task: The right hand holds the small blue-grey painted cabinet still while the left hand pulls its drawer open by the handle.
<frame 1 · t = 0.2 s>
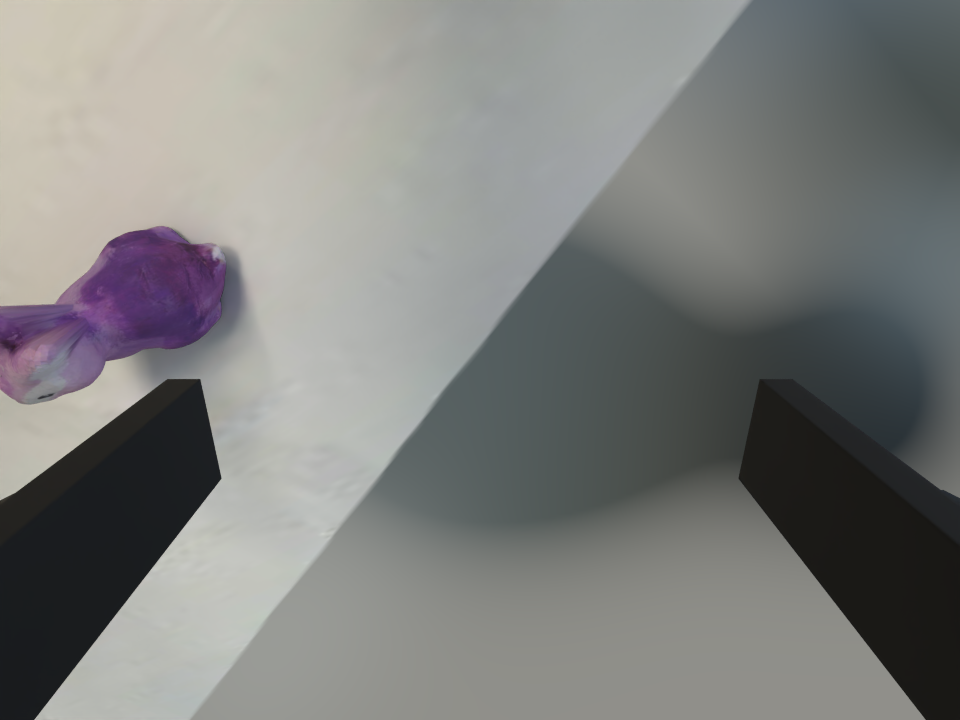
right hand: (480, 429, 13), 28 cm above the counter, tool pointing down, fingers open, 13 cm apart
figurine: (171, 292, 40), on the counter
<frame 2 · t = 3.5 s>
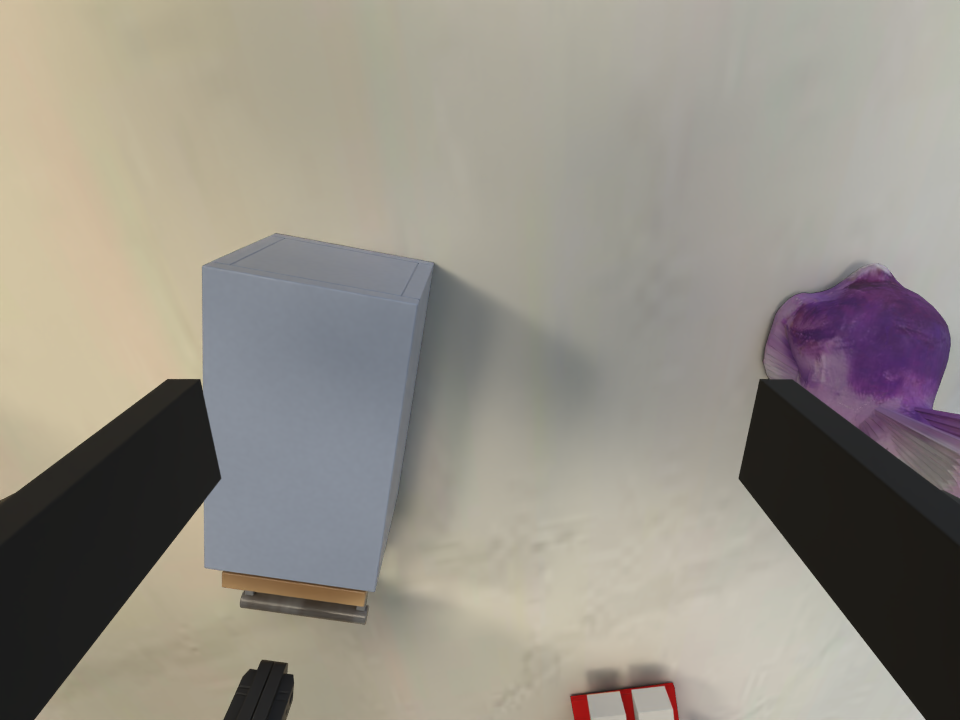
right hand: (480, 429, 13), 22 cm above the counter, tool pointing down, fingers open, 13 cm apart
figurine: (820, 351, 36), on the counter
cabinet: (342, 377, 36), on the counter
drawer: (317, 483, 34), point 5 cm above the counter, slide at 1.1 cm
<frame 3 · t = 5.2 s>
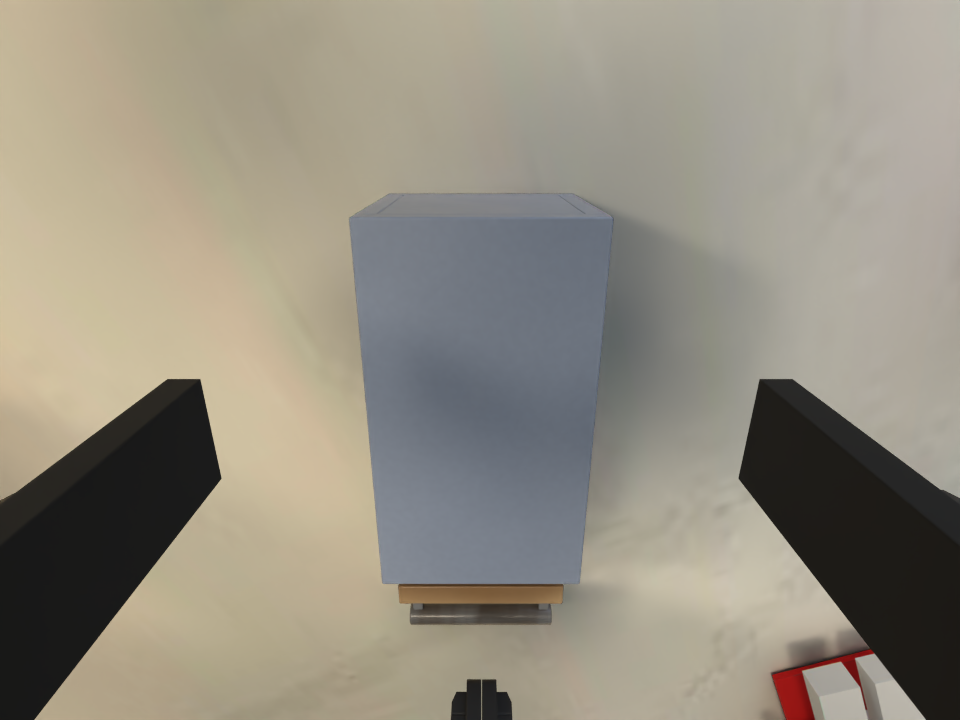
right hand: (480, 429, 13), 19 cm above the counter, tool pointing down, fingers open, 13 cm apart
cabinet: (480, 349, 32), on the counter
drawer: (480, 471, 30), point 5 cm above the counter, slide at 1.1 cm
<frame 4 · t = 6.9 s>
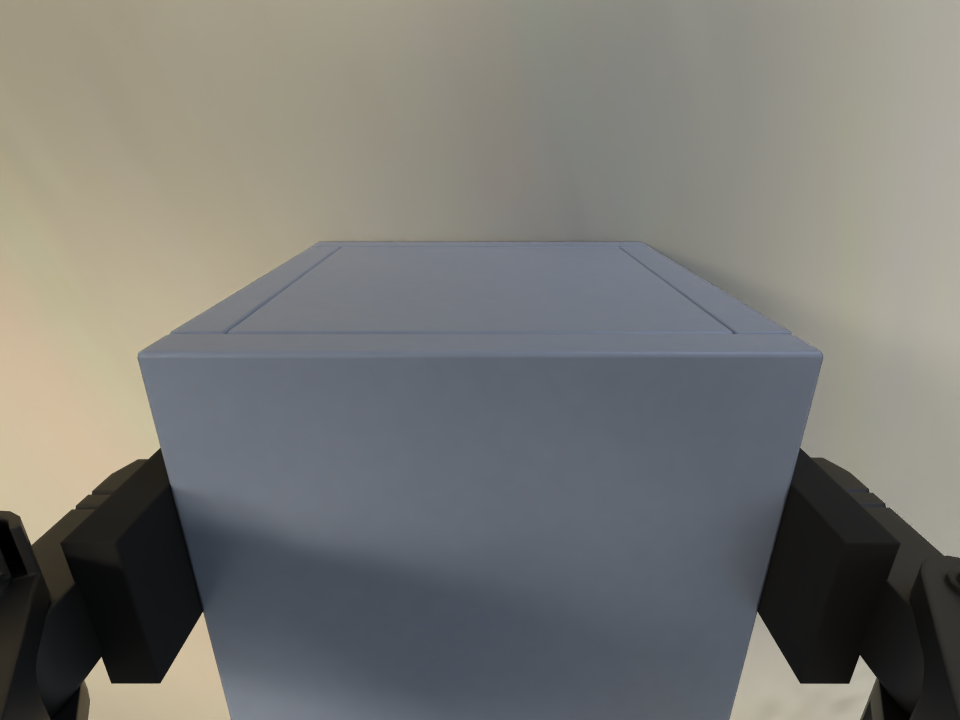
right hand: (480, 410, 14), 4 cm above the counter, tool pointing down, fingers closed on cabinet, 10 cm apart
cabinet: (480, 486, 20), on the counter, touching right hand
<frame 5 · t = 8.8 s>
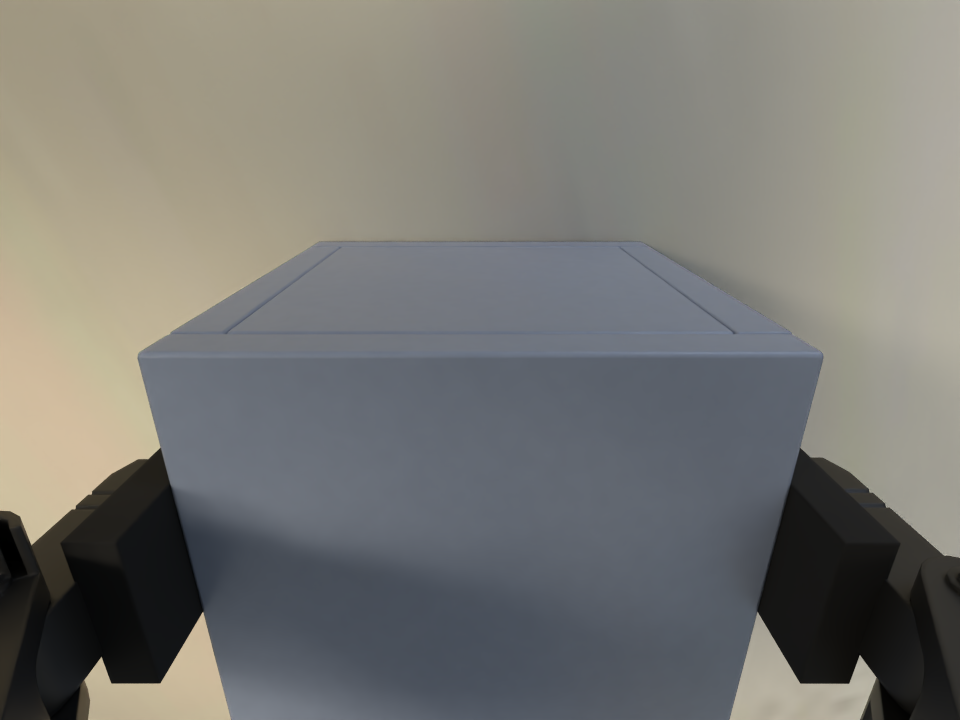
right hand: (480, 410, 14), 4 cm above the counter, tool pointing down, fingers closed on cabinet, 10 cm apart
cabinet: (480, 486, 20), on the counter, touching right hand
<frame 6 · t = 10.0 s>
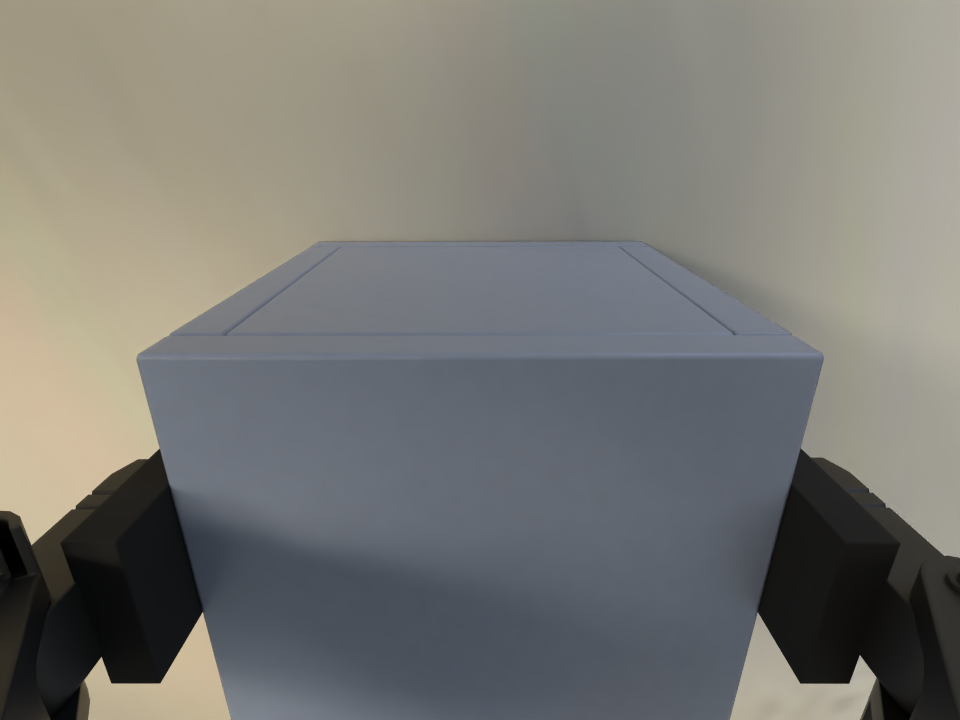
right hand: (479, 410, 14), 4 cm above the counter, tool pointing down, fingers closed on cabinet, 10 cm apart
cabinet: (480, 486, 20), on the counter, touching right hand
when the right hand's fingers open (4 cm above the counter, at t = 11.6 s): cabinet stays where it is, on the counter.
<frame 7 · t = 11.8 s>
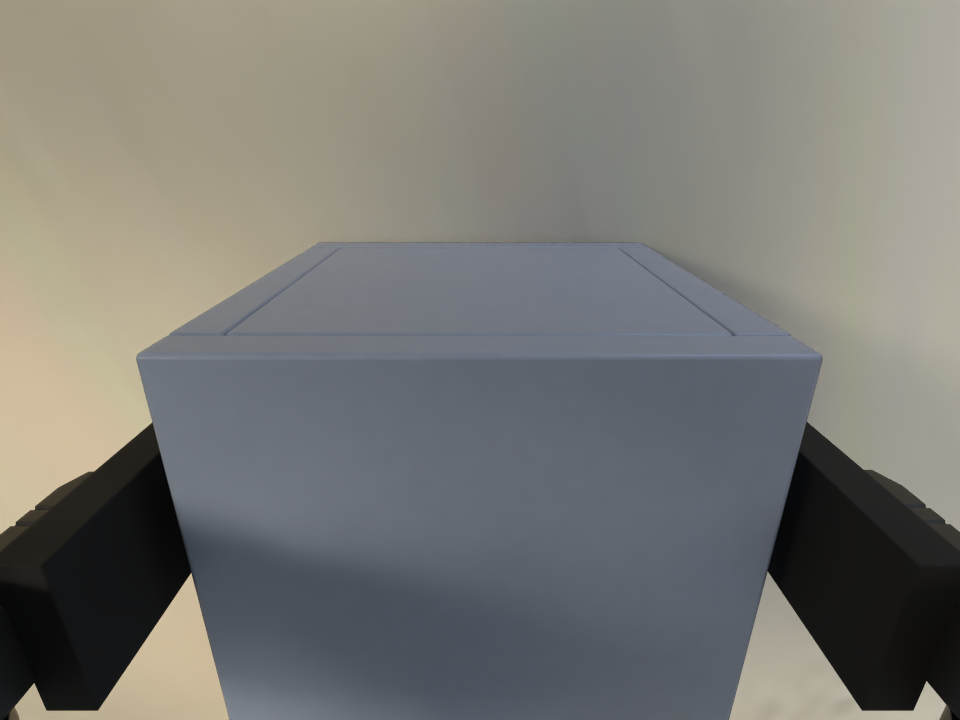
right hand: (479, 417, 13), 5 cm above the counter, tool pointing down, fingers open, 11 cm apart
cabinet: (479, 487, 20), on the counter
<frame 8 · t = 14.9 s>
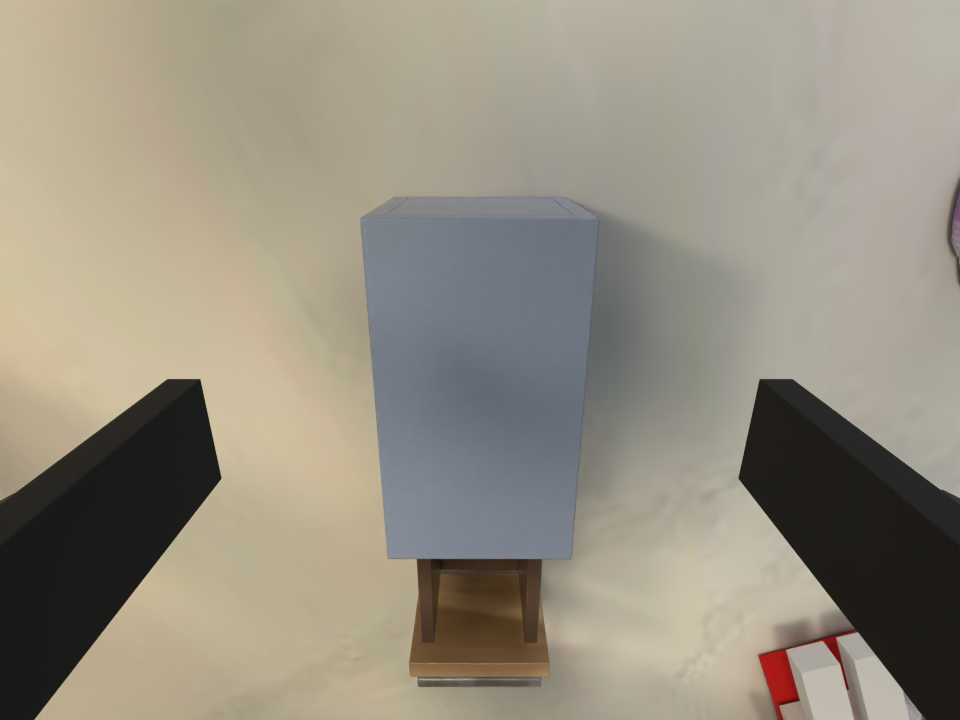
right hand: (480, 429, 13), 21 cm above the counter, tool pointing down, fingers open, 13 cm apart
cabinet: (479, 343, 34), on the counter
drawer: (479, 561, 35), point 5 cm above the counter, slide at 9.0 cm
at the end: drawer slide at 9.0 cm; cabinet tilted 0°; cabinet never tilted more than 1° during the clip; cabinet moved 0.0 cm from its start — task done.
